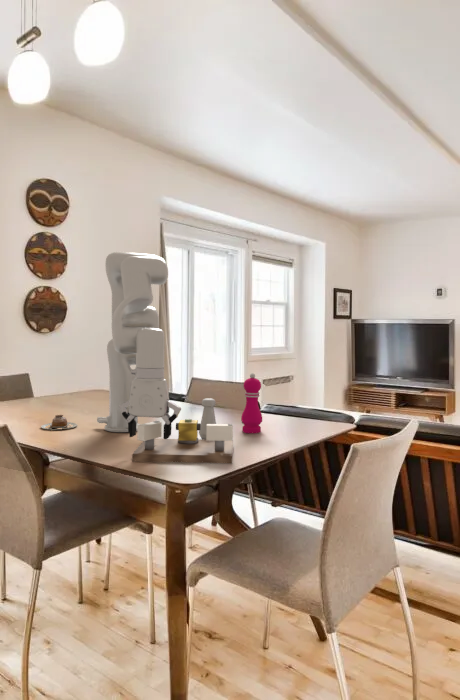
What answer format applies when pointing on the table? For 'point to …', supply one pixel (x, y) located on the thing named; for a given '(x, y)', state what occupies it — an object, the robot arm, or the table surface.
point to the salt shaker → (207, 416)
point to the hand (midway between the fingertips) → (149, 437)
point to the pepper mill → (252, 406)
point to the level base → (185, 448)
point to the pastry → (59, 423)
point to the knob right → (219, 434)
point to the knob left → (149, 433)
